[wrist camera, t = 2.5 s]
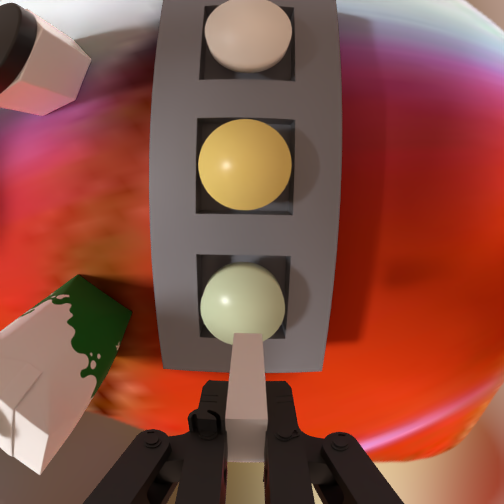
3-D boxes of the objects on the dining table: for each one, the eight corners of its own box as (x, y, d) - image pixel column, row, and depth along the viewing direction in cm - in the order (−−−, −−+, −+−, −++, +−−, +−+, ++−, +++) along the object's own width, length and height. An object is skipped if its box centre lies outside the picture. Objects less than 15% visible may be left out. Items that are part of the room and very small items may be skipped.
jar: (48, 39, 22) (-16, 5, 10) (102, 41, 22) (40, -9, 11) (20, 112, 24) (-56, 100, 12) (70, 121, 24) (-11, 104, 13)
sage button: (205, 332, 24) (202, 344, 22) (202, 260, 23) (199, 268, 21) (279, 333, 24) (282, 346, 22) (284, 262, 23) (287, 270, 21)
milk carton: (74, 262, 28) (-70, 356, 8) (145, 310, 29) (46, 463, 10) (53, 322, 29) (-53, 425, 10) (115, 365, 31) (38, 502, 11)
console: (174, 341, 30) (163, 368, 25) (177, 6, 22) (166, -20, 17) (311, 343, 30) (321, 371, 25) (321, 8, 22) (333, -17, 17)
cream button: (206, 73, 19) (202, 64, 17) (210, 10, 18) (207, -3, 16) (288, 75, 19) (292, 66, 18) (287, 11, 18) (291, -1, 16)
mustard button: (202, 206, 22) (198, 210, 20) (203, 124, 20) (199, 119, 18) (286, 208, 22) (290, 211, 20) (288, 125, 20) (292, 120, 18)
